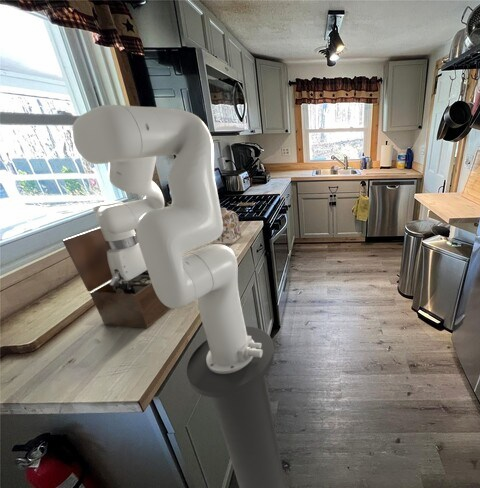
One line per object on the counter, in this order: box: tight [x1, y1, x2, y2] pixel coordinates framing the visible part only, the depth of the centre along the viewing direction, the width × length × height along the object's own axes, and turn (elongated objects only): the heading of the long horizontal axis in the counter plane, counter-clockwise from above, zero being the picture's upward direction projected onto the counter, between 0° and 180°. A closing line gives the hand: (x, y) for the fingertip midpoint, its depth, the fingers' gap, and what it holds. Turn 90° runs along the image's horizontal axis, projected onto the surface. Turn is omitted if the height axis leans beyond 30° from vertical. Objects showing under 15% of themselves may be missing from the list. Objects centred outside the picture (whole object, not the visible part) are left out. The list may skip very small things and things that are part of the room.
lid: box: [61, 226, 113, 292], centre depth 81 cm, size 16×18×1 cm
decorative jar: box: [212, 207, 242, 245], centre depth 141 cm, size 12×12×18 cm
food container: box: [113, 275, 152, 293], centre depth 85 cm, size 12×6×10 cm, turn 94°
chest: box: [89, 273, 171, 329], centre depth 86 cm, size 16×18×12 cm
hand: (141, 291), depth 85 cm, fingers closed on food container, 6 cm apart
